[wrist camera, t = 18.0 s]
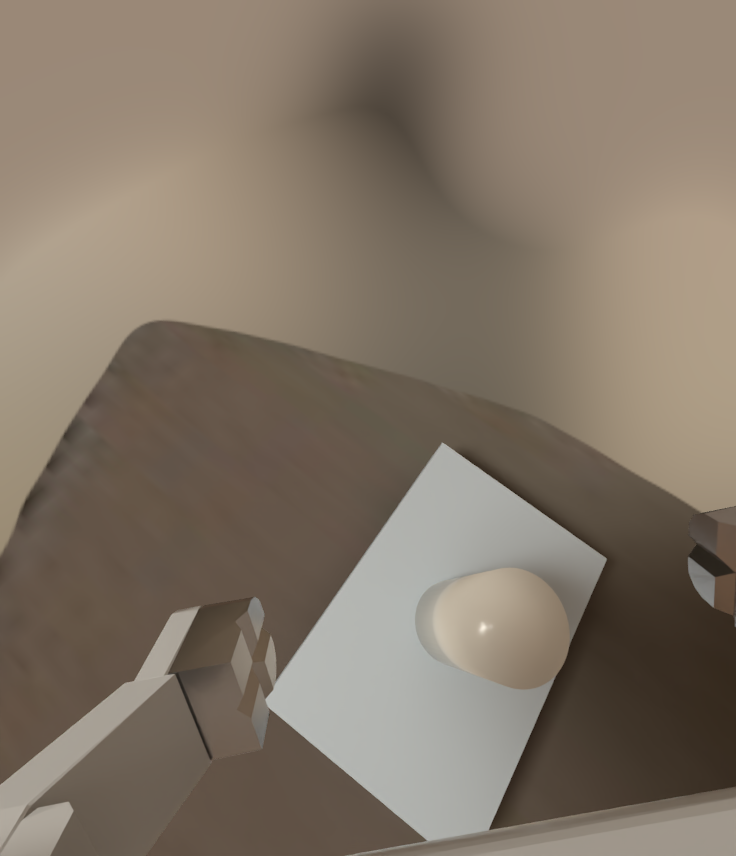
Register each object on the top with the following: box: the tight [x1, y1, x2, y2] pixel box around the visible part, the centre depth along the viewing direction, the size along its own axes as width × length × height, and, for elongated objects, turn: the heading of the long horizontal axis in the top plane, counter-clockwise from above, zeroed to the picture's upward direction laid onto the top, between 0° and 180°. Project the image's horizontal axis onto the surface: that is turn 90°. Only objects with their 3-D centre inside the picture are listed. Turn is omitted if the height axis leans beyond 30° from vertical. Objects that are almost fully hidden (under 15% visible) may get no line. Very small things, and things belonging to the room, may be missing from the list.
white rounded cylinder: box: [415, 568, 570, 690], centre depth 24 cm, size 5×5×9 cm
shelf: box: [265, 443, 607, 841], centre depth 30 cm, size 20×14×4 cm
